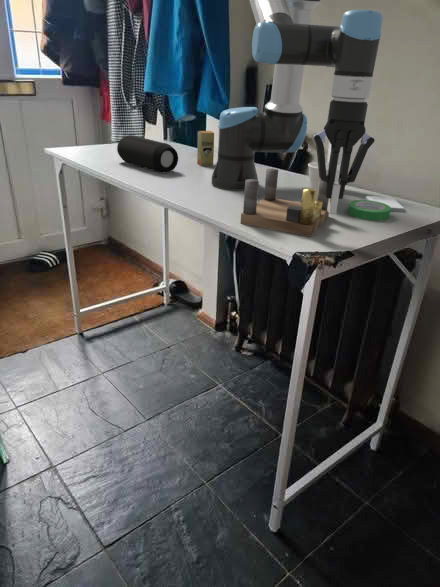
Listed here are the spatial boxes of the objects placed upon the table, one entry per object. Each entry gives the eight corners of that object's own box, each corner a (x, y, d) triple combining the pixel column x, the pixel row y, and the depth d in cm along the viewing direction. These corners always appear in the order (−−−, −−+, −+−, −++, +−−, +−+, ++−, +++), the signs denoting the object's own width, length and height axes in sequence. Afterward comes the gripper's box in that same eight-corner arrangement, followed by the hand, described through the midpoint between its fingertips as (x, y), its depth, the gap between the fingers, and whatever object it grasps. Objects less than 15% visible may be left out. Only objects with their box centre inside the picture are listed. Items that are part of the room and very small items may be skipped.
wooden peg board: (265, 205, 126) (268, 168, 122) (328, 216, 120) (334, 177, 115) (240, 223, 112) (243, 181, 107) (310, 236, 105) (317, 192, 101)
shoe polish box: (197, 163, 173) (197, 131, 168) (209, 163, 175) (210, 130, 169) (200, 166, 169) (201, 132, 164) (213, 165, 171) (214, 132, 165)
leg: (311, 211, 114) (315, 180, 110) (323, 213, 113) (328, 182, 109) (296, 222, 106) (301, 189, 102) (309, 224, 104) (314, 192, 101)
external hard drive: (375, 212, 128) (365, 200, 139) (404, 214, 127) (391, 201, 138) (376, 206, 127) (366, 195, 138) (405, 208, 127) (392, 196, 138)
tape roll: (365, 222, 117) (367, 213, 116) (339, 210, 126) (341, 201, 125) (397, 219, 121) (400, 209, 120) (370, 207, 130) (372, 198, 129)
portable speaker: (180, 172, 159) (180, 143, 155) (158, 176, 153) (157, 146, 148) (137, 160, 175) (136, 133, 170) (115, 163, 168) (114, 135, 164)
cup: (313, 197, 137) (318, 160, 132) (343, 204, 131) (349, 166, 126) (296, 203, 130) (301, 164, 125) (327, 211, 125) (333, 171, 119)
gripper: (320, 99, 88) (305, 216, 99) (387, 102, 88) (364, 218, 99) (314, 97, 94) (300, 206, 105) (375, 100, 94) (355, 208, 105)
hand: (331, 212), depth 102 cm, fingers closed
